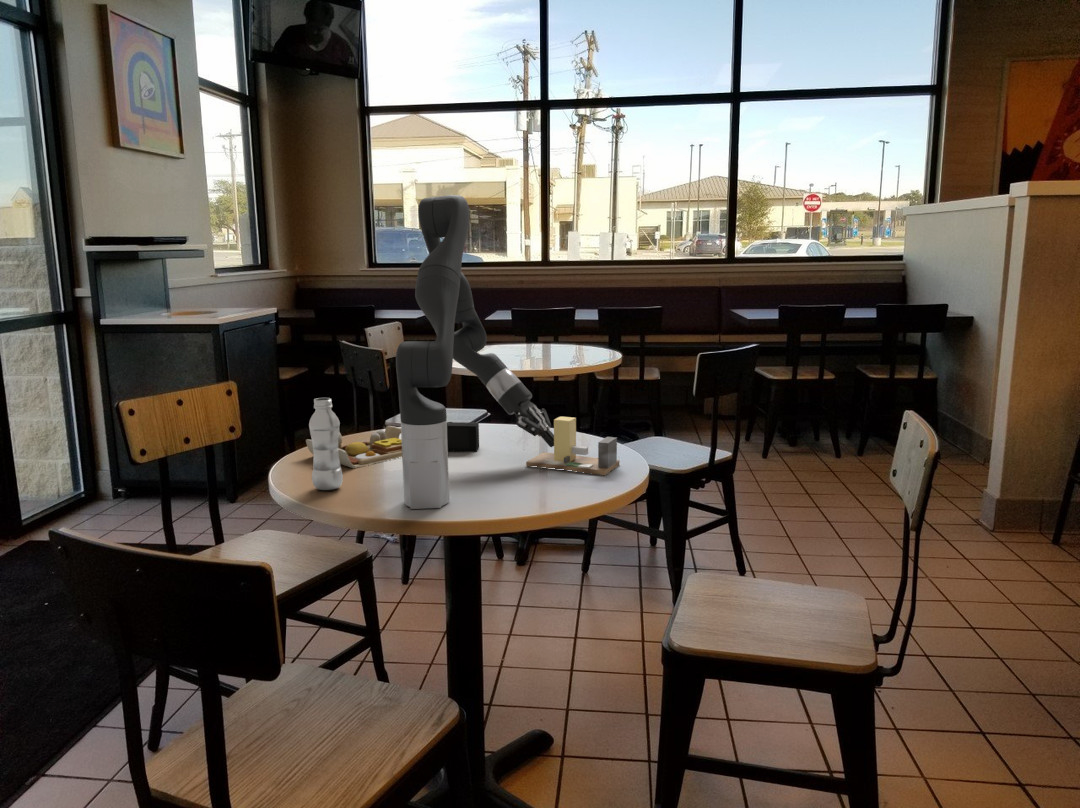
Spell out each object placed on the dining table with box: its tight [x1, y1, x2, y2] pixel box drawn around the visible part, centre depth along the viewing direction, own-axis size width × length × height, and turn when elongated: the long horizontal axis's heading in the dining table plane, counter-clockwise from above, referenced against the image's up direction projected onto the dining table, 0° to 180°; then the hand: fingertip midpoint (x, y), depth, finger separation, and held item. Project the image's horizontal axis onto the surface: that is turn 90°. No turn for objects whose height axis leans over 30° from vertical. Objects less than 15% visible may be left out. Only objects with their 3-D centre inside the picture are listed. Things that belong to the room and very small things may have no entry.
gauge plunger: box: [553, 416, 589, 463], centre depth 187 cm, size 8×6×10 cm
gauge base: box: [525, 436, 620, 476], centre depth 188 cm, size 20×10×7 cm, turn 65°
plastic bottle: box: [308, 397, 344, 491], centre depth 171 cm, size 6×7×20 cm
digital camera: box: [447, 421, 480, 453], centre depth 206 cm, size 10×5×7 cm, turn 85°
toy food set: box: [305, 425, 402, 469], centre depth 201 cm, size 25×18×8 cm
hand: (555, 444), depth 190 cm, fingers closed
